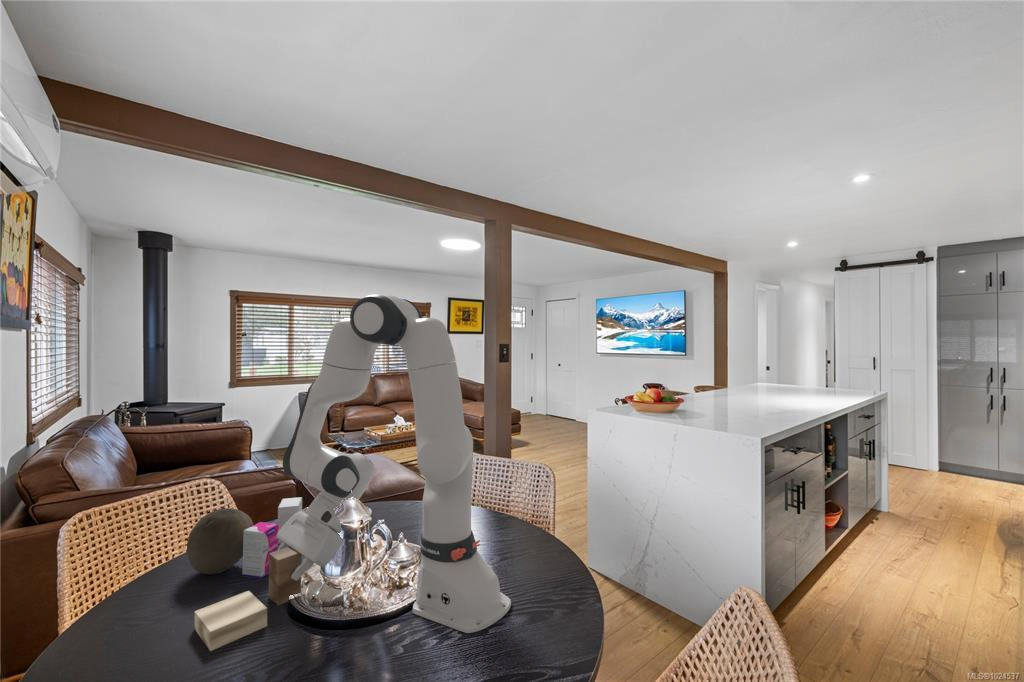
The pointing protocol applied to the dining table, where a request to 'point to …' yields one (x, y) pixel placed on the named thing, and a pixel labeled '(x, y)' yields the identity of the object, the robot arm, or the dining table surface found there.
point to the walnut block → (283, 574)
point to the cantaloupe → (217, 540)
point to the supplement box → (258, 548)
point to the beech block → (230, 620)
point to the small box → (288, 510)
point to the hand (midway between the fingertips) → (283, 571)
